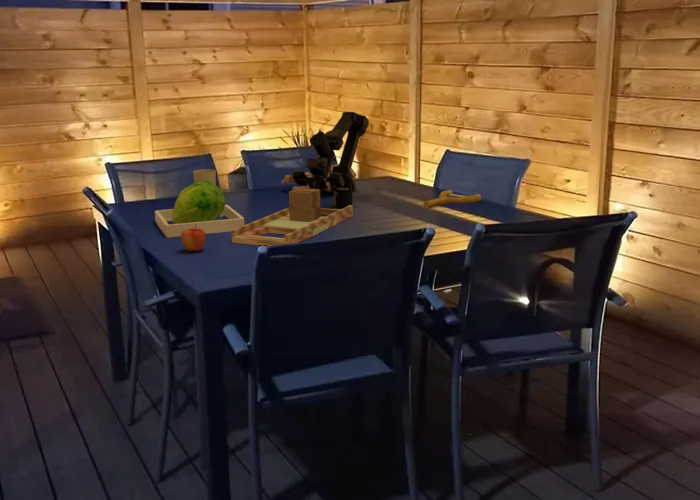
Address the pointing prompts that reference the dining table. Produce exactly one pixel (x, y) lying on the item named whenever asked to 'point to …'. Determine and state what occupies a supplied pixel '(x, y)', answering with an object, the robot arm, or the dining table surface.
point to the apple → (193, 239)
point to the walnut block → (304, 204)
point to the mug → (205, 175)
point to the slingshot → (451, 199)
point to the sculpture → (290, 180)
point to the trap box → (288, 227)
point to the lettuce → (198, 203)
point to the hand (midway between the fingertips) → (311, 198)
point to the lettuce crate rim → (199, 223)
